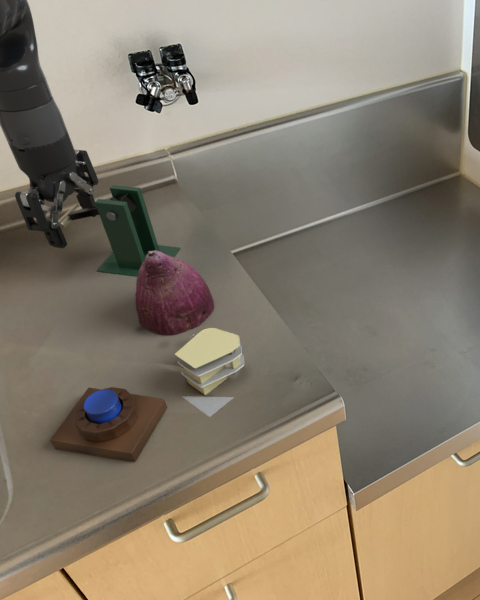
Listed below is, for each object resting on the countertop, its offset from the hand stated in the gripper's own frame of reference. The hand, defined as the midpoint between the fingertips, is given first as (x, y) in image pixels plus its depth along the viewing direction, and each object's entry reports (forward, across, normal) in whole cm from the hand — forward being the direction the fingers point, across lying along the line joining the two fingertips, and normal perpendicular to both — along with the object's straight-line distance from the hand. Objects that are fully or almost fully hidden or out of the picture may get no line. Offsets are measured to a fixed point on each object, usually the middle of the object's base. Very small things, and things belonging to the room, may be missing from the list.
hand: (76, 230), depth 94 cm
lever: (-3, 0, +5) cm, 6 cm away
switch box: (+5, +30, +21) cm, 37 cm away
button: (+2, +30, +21) cm, 37 cm away
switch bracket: (+5, 0, +9) cm, 11 cm away
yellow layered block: (+6, +20, +30) cm, 37 cm away
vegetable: (+6, +10, +20) cm, 23 cm away
